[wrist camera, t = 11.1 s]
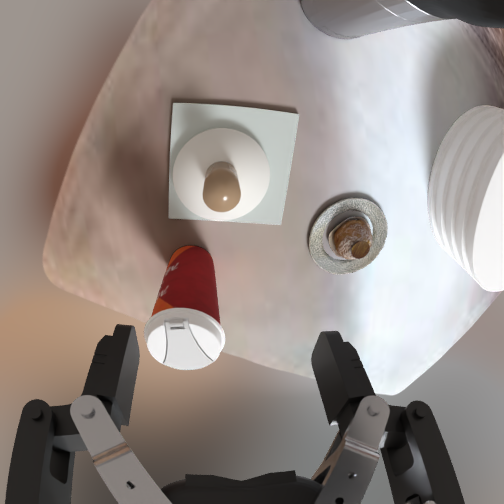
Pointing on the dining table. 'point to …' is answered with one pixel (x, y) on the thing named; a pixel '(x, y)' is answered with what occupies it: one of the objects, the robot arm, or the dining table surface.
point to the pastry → (349, 237)
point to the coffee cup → (186, 313)
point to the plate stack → (471, 195)
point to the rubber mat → (257, 127)
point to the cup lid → (221, 174)
